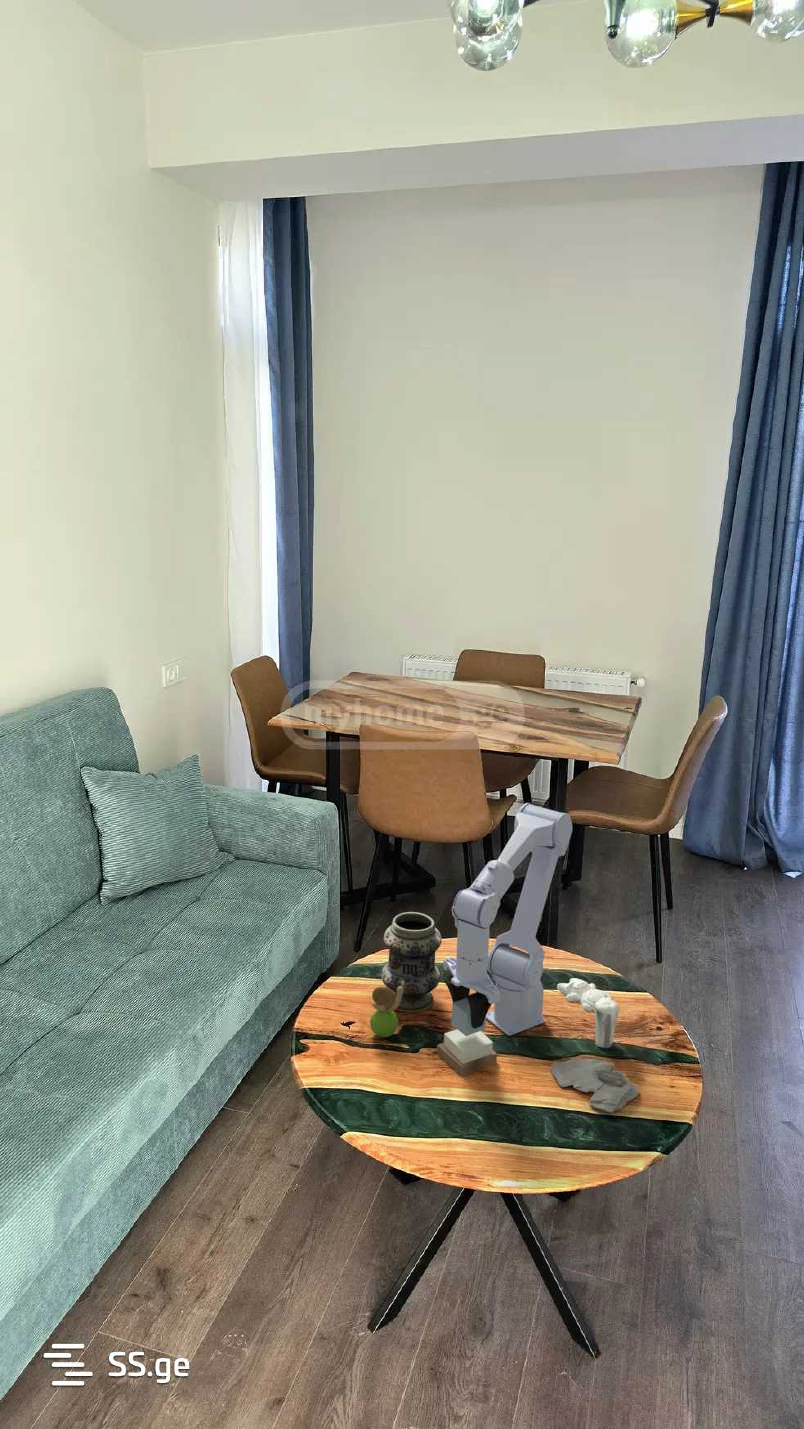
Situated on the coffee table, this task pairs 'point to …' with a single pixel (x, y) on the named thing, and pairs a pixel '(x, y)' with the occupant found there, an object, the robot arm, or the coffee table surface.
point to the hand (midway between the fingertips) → (468, 1019)
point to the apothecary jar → (412, 960)
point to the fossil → (596, 1082)
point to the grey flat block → (465, 1067)
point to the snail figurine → (385, 1010)
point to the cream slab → (467, 1045)
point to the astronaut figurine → (582, 993)
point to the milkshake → (605, 1021)
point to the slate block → (464, 1018)
